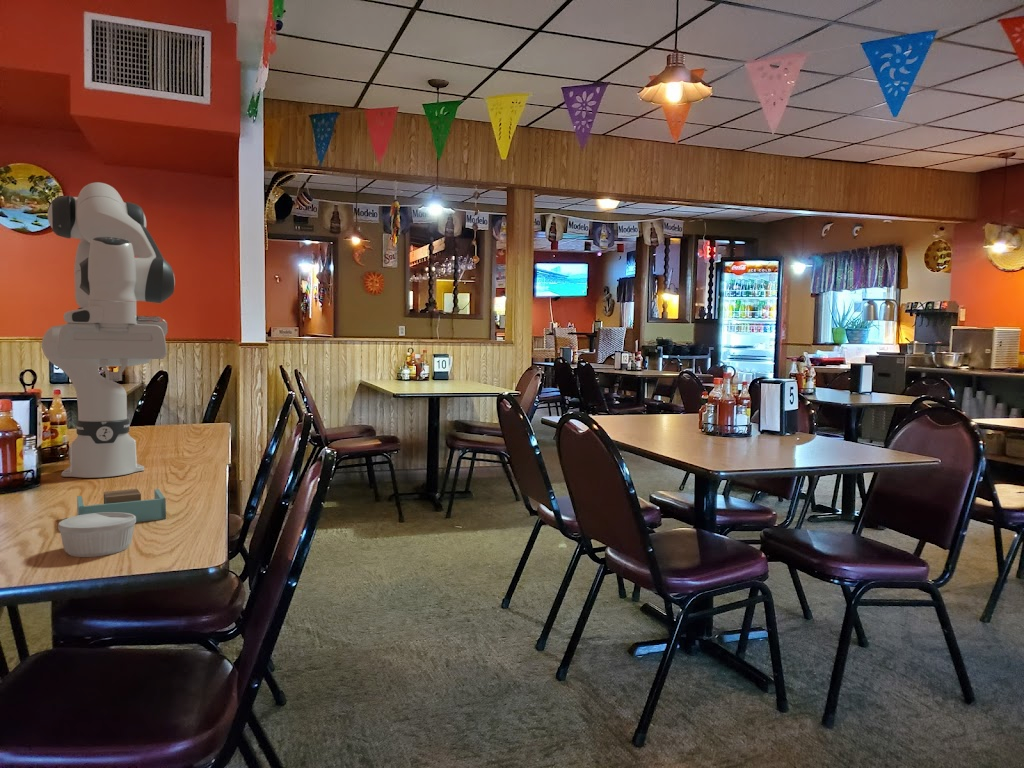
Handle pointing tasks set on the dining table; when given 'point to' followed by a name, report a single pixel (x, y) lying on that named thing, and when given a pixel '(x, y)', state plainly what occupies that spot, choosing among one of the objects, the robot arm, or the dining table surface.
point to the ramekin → (97, 533)
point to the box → (130, 508)
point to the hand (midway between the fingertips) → (113, 380)
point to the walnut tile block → (122, 496)
